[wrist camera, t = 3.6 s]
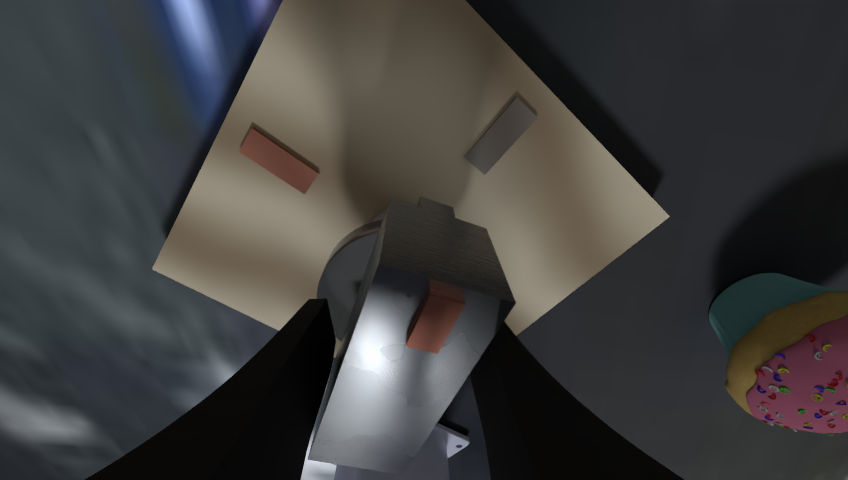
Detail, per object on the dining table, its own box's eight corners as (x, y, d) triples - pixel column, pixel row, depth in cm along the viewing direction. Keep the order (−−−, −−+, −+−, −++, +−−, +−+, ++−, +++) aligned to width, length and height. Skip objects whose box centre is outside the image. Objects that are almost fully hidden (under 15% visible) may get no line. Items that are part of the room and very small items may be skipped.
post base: (428, 383, 23) (430, 449, 20) (171, 253, 18) (102, 310, 14) (650, 203, 17) (721, 249, 13) (353, -106, 11) (317, -196, 7)
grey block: (434, 365, 15) (442, 491, 11) (307, 335, 14) (258, 462, 10) (514, 224, 12) (574, 327, 7) (352, 168, 11) (306, 251, 6)
